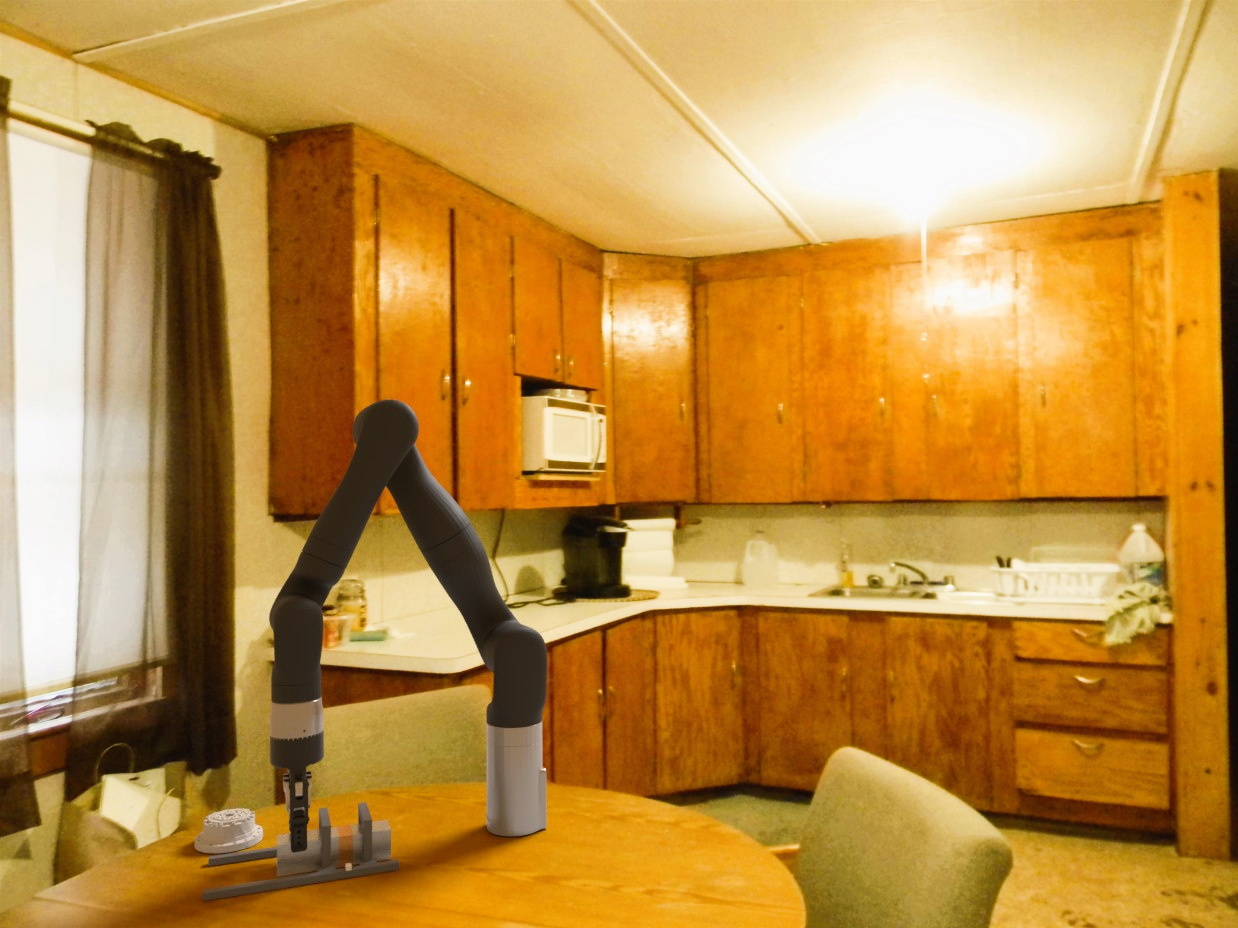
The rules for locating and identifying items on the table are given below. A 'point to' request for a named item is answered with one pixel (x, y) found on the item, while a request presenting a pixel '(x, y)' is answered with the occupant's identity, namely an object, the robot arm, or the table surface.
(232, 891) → the collar frame
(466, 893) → the table surface
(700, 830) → the table surface
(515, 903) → the table surface
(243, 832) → the mechanical component
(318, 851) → the bar
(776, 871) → the table surface
